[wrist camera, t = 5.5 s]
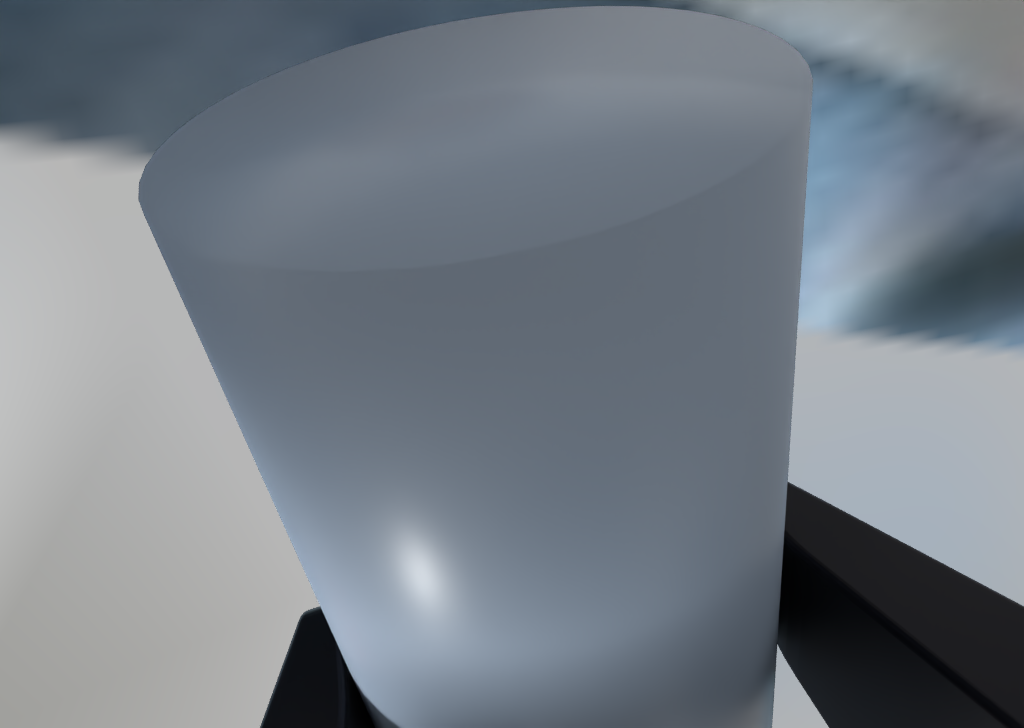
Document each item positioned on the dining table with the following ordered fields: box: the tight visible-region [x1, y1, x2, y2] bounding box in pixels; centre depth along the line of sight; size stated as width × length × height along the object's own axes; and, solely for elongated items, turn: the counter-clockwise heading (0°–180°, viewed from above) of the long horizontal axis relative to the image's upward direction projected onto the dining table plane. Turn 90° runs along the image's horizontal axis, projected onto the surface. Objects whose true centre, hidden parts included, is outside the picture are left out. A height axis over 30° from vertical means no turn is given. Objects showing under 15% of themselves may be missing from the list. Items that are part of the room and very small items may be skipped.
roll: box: [139, 6, 813, 728], centre depth 9 cm, size 11×4×4 cm, turn 9°
